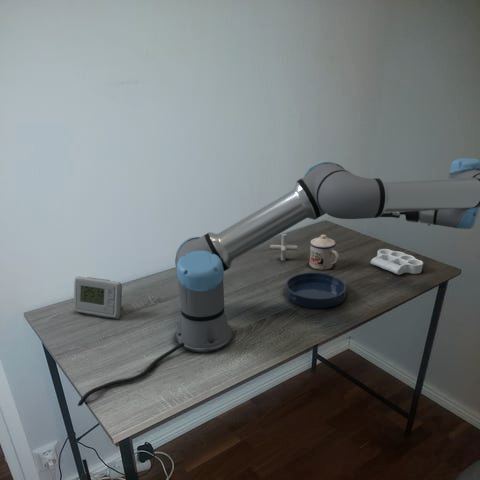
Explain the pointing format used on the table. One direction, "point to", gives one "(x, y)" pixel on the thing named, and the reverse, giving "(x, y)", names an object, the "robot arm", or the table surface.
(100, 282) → the digital clock
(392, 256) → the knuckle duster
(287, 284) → the bowl
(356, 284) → the table surface
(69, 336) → the table surface
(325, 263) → the teacup with lid
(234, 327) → the table surface
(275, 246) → the pipe connector
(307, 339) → the table surface
